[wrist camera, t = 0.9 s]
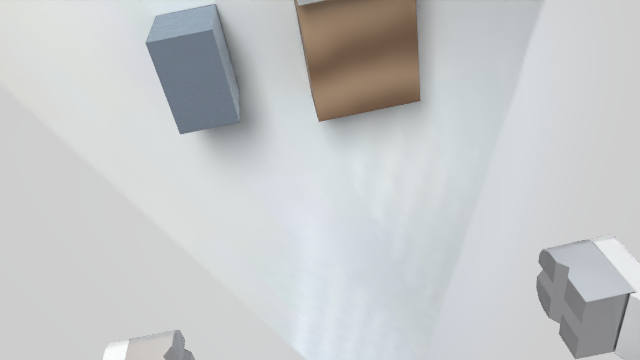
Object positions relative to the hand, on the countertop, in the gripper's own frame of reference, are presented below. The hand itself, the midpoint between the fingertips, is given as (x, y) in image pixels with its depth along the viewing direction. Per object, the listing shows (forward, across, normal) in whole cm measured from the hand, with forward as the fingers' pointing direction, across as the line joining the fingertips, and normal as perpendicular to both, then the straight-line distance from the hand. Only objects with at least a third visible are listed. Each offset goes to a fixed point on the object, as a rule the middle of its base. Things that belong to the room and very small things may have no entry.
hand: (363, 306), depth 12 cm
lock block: (+37, +8, +6) cm, 38 cm away
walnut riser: (+36, -6, +6) cm, 37 cm away
